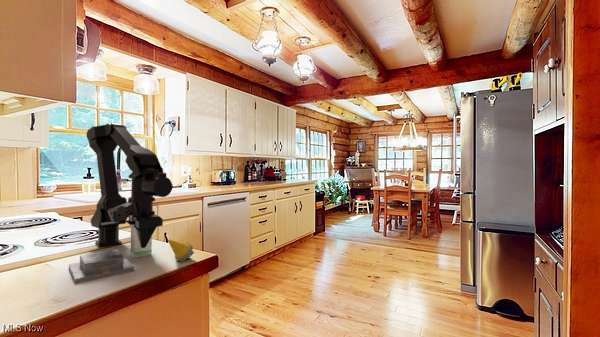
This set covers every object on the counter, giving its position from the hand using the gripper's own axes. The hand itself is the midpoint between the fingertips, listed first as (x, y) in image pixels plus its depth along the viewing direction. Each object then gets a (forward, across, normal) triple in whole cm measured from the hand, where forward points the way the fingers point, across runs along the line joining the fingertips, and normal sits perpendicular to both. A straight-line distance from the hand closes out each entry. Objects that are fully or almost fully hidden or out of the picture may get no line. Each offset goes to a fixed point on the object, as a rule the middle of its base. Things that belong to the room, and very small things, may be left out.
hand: (141, 245), depth 86 cm
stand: (+2, +7, -11) cm, 13 cm away
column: (+2, 0, 0) cm, 2 cm away
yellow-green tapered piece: (+3, +13, +7) cm, 15 cm away
